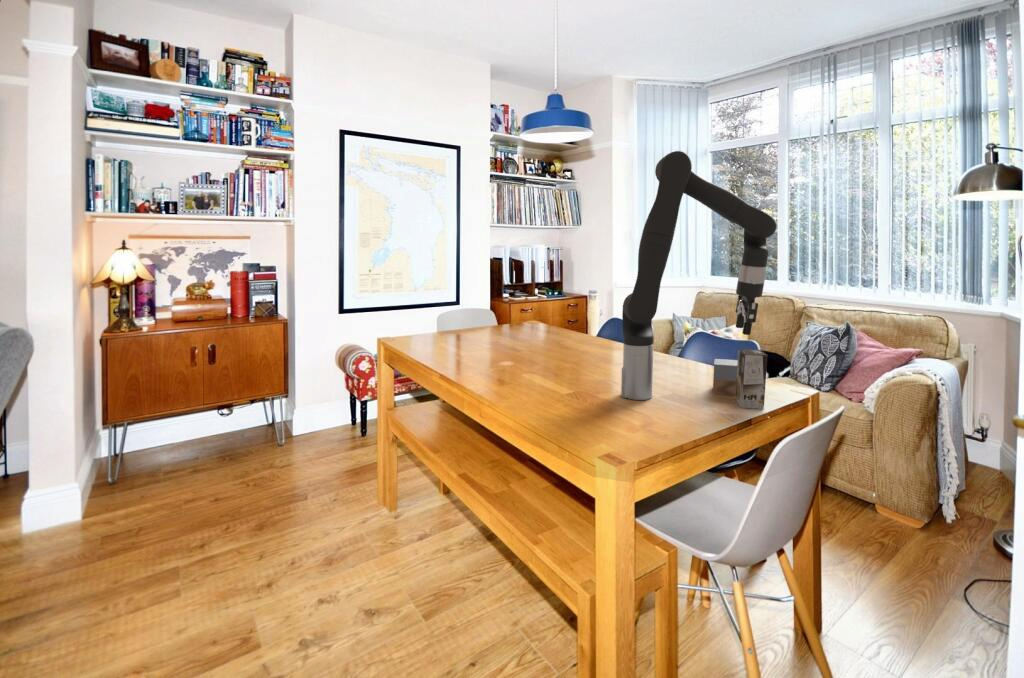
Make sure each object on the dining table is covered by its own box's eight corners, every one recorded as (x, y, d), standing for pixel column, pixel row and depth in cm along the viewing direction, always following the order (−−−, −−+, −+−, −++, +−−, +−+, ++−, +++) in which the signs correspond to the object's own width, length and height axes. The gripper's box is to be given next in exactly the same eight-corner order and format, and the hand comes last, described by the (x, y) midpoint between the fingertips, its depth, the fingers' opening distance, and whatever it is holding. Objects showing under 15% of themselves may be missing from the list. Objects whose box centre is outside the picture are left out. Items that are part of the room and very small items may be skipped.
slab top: (713, 379, 171) (714, 364, 170) (714, 373, 179) (714, 358, 178) (743, 381, 168) (744, 366, 167) (743, 375, 176) (744, 360, 175)
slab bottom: (712, 394, 172) (713, 379, 171) (713, 387, 180) (713, 373, 179) (742, 397, 168) (743, 381, 168) (742, 390, 177) (743, 375, 176)
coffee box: (764, 409, 155) (768, 355, 152) (741, 408, 156) (744, 354, 154) (757, 400, 164) (760, 349, 161) (734, 399, 165) (737, 348, 162)
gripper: (732, 276, 171) (725, 324, 176) (744, 283, 158) (735, 335, 162) (757, 277, 170) (748, 326, 175) (771, 285, 157) (761, 337, 161)
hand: (742, 331), depth 168 cm, fingers open, 8 cm apart
